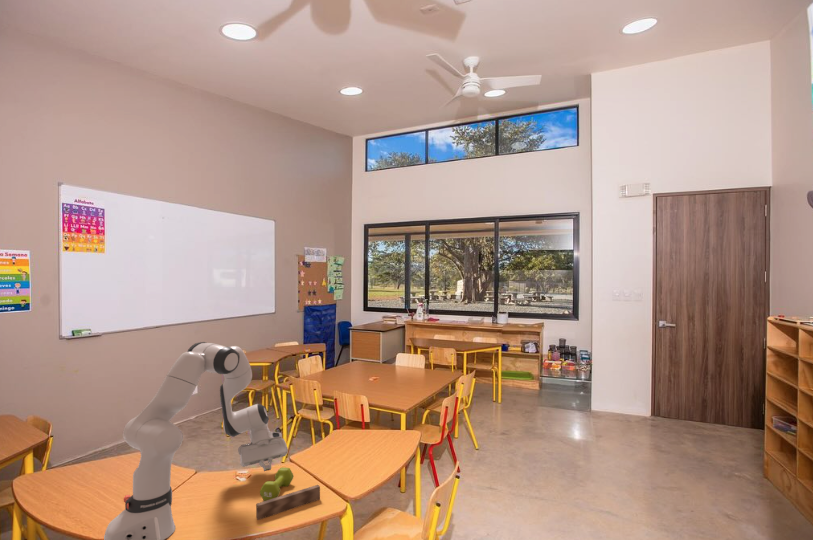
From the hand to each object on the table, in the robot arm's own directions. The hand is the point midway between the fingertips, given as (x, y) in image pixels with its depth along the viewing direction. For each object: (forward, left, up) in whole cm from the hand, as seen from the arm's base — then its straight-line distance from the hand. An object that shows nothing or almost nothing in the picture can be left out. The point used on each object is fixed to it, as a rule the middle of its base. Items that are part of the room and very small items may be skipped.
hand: (267, 469), depth 179 cm
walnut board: (0, -27, -5) cm, 28 cm away
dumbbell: (0, -13, -5) cm, 14 cm away
